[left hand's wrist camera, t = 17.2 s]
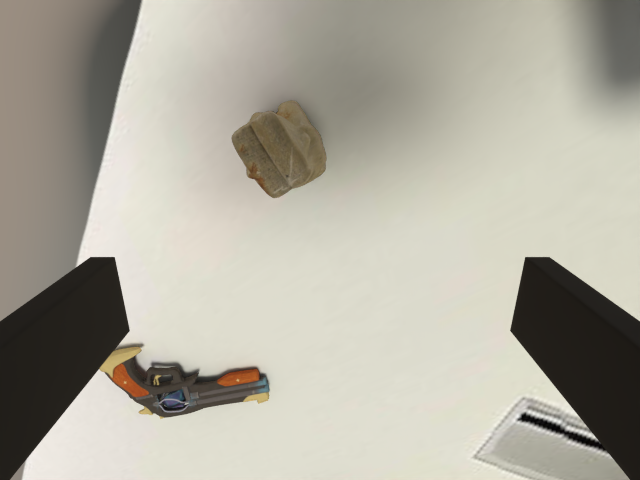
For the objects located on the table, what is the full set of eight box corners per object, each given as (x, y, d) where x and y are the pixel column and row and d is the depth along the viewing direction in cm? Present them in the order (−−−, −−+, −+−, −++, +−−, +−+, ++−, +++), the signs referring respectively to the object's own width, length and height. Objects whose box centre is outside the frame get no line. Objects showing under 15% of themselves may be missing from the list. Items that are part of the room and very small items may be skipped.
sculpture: (303, 91, 36) (293, 90, 22) (336, 161, 39) (346, 199, 25) (249, 120, 37) (207, 136, 23) (285, 186, 39) (265, 237, 25)
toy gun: (89, 361, 44) (115, 434, 47) (253, 332, 44) (270, 406, 47) (101, 349, 47) (125, 419, 49) (255, 322, 47) (272, 392, 49)
